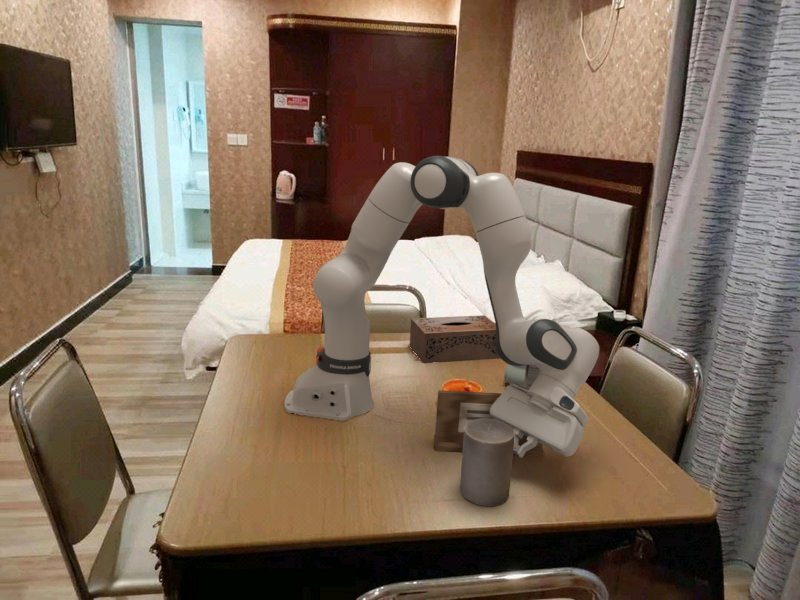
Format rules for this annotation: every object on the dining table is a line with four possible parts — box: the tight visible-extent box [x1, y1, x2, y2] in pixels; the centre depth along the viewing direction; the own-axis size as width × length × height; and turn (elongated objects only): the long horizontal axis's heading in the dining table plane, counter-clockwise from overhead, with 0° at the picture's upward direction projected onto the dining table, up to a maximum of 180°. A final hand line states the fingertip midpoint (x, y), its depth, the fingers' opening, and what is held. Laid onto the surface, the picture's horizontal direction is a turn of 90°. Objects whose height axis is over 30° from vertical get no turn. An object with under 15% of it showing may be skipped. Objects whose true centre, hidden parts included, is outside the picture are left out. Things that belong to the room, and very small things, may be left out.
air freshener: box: [503, 364, 526, 387], centre depth 164 cm, size 11×8×10 cm
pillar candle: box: [459, 418, 515, 507], centre depth 112 cm, size 10×10×15 cm
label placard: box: [433, 389, 545, 457], centre depth 129 cm, size 24×5×13 cm, turn 89°
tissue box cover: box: [409, 314, 501, 364], centre depth 186 cm, size 26×14×10 cm, turn 106°
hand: (514, 453), depth 119 cm, fingers closed
